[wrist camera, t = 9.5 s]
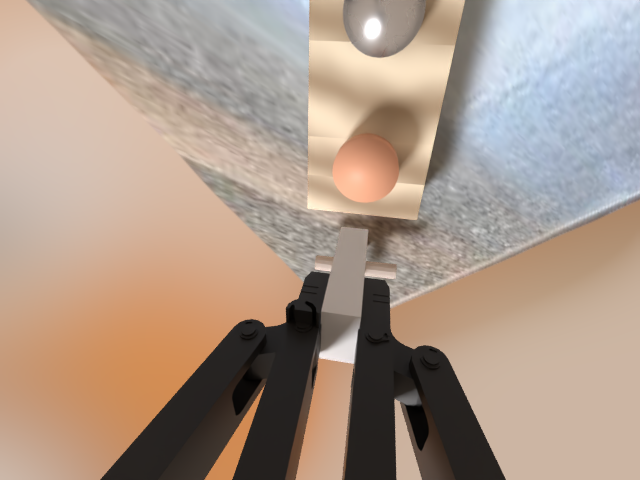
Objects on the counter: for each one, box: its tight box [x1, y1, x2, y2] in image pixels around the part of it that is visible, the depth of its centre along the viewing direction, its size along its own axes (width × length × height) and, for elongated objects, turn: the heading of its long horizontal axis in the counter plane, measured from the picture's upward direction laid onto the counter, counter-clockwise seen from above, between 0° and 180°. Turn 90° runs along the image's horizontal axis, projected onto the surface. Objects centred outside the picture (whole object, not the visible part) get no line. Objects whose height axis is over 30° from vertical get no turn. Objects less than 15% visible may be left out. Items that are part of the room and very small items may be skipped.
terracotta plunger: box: [332, 133, 399, 203], centre depth 32 cm, size 6×6×8 cm
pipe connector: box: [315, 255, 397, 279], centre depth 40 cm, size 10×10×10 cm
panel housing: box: [308, 0, 465, 220], centre depth 31 cm, size 24×12×6 cm, turn 178°
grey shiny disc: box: [343, 0, 426, 58], centre depth 26 cm, size 6×6×8 cm
